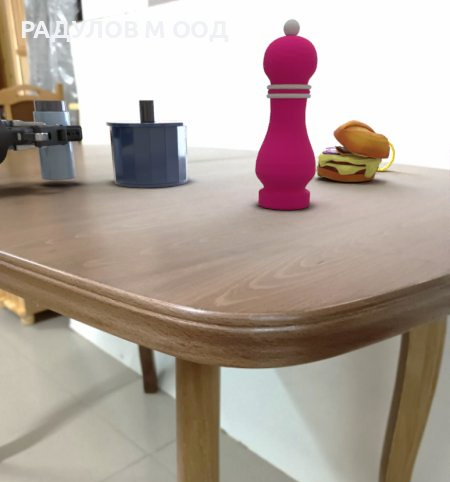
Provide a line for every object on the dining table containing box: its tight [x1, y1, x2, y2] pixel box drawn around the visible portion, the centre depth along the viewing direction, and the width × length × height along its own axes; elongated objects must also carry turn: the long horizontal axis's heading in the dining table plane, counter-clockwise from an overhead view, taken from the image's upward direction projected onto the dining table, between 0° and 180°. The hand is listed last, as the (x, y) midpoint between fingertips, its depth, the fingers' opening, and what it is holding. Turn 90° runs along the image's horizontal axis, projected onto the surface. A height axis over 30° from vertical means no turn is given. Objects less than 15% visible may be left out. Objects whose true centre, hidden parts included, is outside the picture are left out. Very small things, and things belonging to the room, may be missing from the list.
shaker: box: [32, 99, 77, 181], centre depth 73 cm, size 5×5×11 cm
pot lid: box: [105, 99, 190, 127], centre depth 73 cm, size 12×12×4 cm
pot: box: [108, 125, 189, 189], centre depth 76 cm, size 11×11×8 cm
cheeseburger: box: [316, 119, 391, 183], centre depth 78 cm, size 10×11×10 cm
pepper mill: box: [254, 18, 319, 211], centre depth 56 cm, size 7×7×20 cm
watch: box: [376, 136, 396, 172], centre depth 89 cm, size 6×3×6 cm, turn 77°
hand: (67, 132), depth 74 cm, fingers closed on shaker, 5 cm apart
